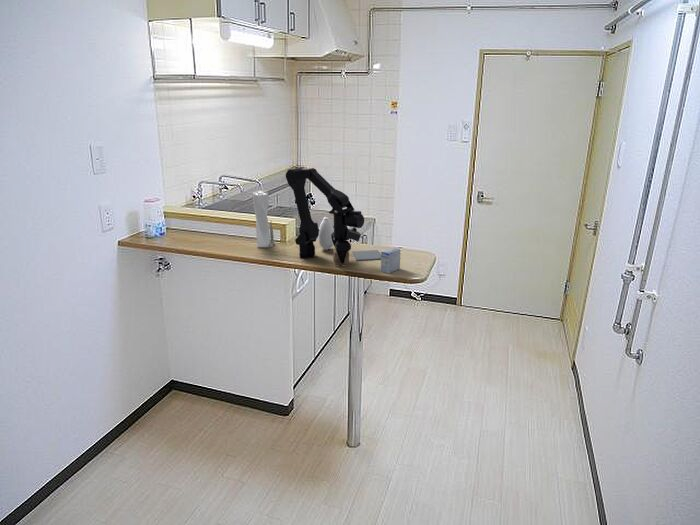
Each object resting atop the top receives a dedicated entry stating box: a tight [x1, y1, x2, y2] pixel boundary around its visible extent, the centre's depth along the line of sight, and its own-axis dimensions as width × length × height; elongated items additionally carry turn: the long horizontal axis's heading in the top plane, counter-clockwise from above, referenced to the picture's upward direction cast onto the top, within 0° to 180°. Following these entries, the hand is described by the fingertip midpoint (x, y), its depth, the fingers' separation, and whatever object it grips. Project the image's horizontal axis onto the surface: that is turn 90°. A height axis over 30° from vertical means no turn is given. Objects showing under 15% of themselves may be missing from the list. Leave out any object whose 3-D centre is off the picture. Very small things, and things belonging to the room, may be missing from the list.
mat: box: [351, 249, 381, 262], centre depth 226 cm, size 12×12×1 cm
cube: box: [332, 248, 350, 266], centre depth 216 cm, size 6×6×6 cm
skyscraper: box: [252, 189, 275, 249], centre depth 237 cm, size 8×8×28 cm
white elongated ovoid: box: [317, 213, 334, 251], centre depth 233 cm, size 8×8×18 cm
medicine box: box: [380, 246, 401, 274], centre depth 207 cm, size 8×4×9 cm, turn 141°
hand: (341, 259), depth 216 cm, fingers open, 9 cm apart
